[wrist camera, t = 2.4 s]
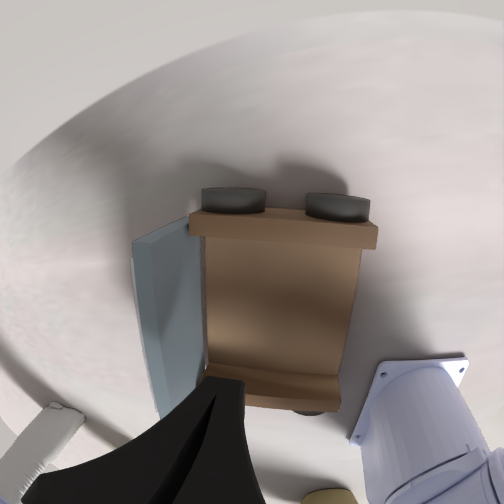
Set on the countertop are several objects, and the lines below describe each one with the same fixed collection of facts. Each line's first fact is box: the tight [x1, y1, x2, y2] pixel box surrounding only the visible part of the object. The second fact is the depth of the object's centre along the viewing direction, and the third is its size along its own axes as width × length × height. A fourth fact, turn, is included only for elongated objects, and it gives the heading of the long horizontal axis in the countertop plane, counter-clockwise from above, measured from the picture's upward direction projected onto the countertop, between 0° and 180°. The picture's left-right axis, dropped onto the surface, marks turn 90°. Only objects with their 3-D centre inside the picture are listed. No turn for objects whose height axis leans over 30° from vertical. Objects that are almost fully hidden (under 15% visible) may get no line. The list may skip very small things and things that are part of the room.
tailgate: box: [130, 217, 205, 420], centre depth 14 cm, size 10×1×6 cm, turn 178°
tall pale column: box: [0, 402, 86, 504], centre depth 16 cm, size 11×4×22 cm, turn 112°
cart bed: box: [189, 188, 378, 416], centre depth 16 cm, size 13×8×4 cm, turn 178°
